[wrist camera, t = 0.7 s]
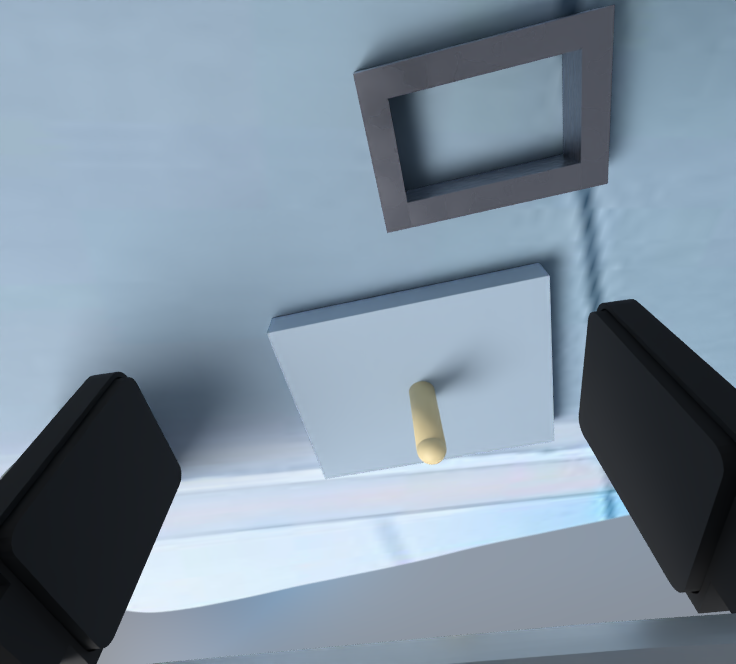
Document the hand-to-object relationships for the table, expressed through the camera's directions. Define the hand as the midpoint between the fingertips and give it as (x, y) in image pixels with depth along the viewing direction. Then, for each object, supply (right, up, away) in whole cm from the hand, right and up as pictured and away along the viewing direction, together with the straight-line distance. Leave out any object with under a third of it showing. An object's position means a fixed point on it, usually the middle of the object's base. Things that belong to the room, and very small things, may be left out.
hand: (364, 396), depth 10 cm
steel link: (+6, +13, +16) cm, 21 cm away
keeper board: (+4, -2, +24) cm, 25 cm away
